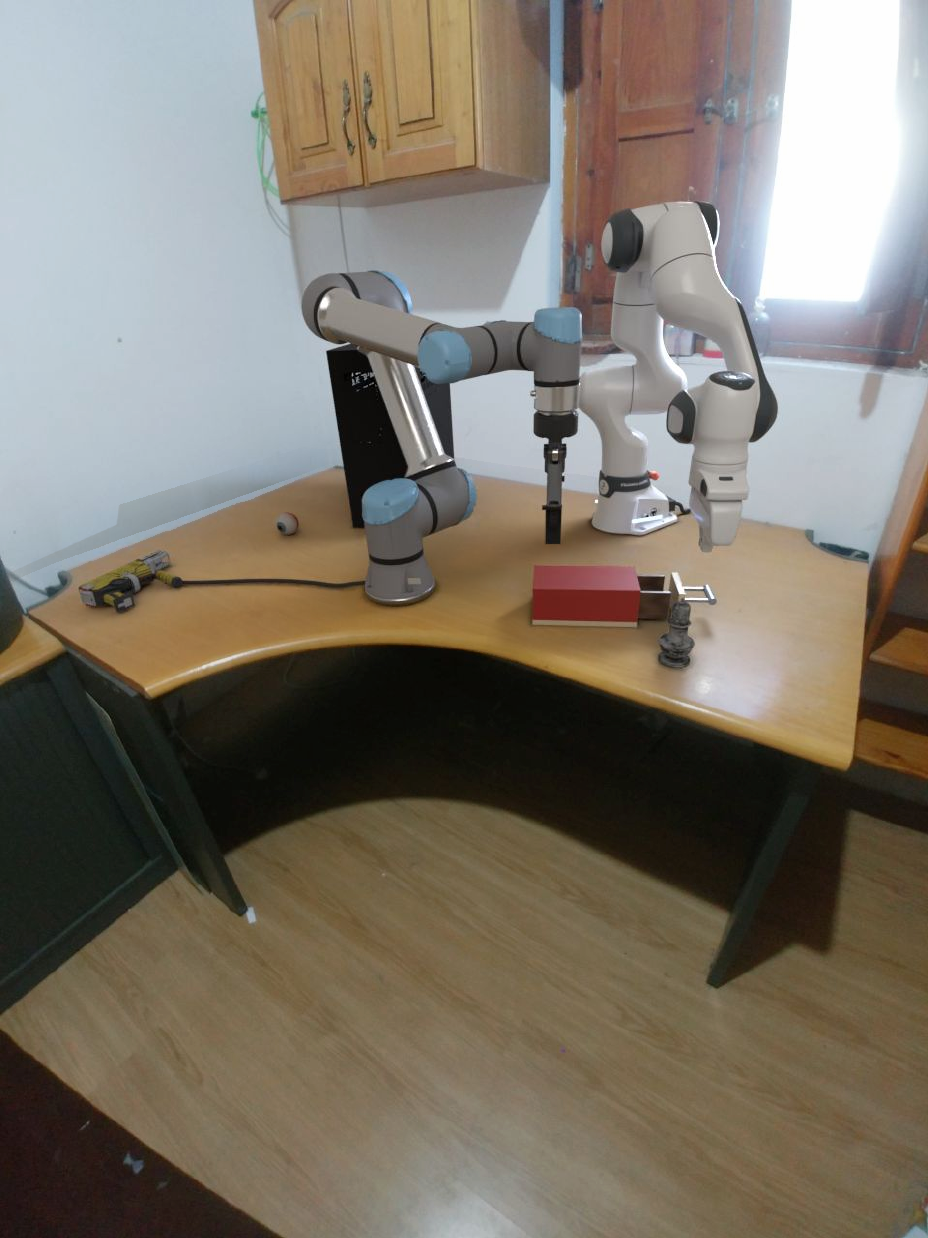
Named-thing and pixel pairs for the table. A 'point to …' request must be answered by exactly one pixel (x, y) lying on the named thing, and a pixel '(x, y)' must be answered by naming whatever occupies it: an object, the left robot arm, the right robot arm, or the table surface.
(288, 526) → the eyeball
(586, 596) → the cabinet
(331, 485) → the table surface
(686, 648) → the chess piece
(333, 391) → the cardboard box
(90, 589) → the toy gun
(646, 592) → the drawer
